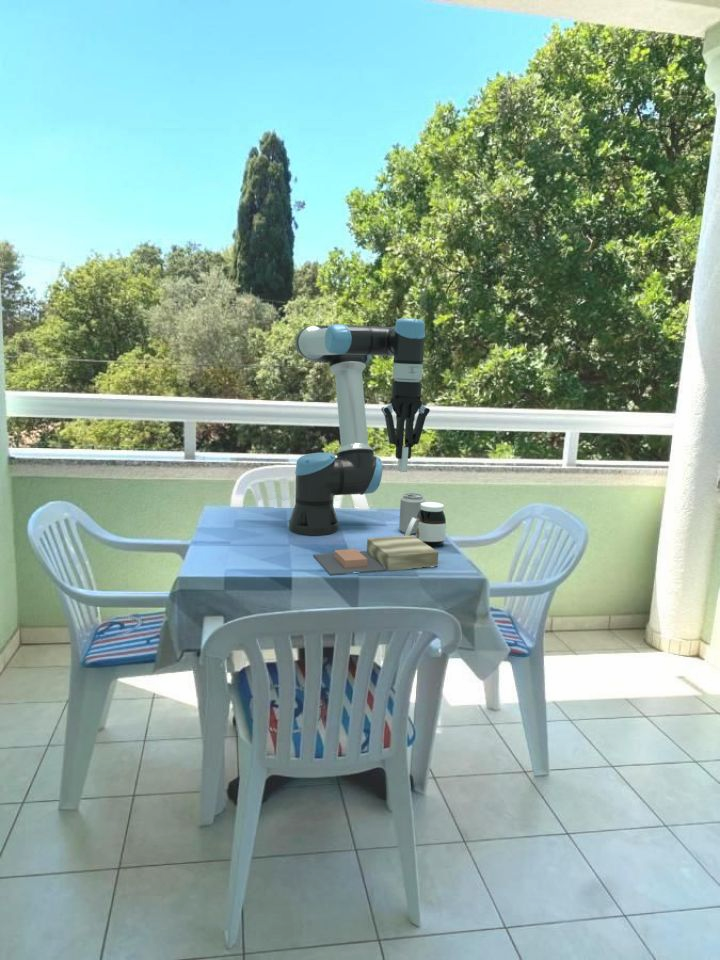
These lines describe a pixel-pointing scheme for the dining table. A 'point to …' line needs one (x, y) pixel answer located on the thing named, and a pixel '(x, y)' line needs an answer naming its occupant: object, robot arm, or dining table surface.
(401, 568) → the wooden block
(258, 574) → the dining table surface
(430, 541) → the spread jar
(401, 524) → the can
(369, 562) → the mat
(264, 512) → the dining table surface
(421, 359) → the robot arm
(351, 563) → the light brown flat block
